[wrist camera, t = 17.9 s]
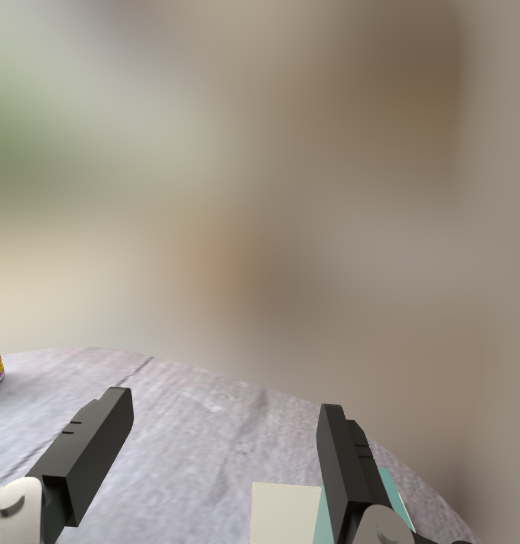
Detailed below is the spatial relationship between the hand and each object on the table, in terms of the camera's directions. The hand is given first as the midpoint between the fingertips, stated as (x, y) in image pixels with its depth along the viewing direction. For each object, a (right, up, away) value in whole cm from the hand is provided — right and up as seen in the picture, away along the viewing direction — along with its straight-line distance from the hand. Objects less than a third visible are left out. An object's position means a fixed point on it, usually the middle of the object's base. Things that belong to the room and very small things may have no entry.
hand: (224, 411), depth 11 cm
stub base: (+9, -25, +14) cm, 30 cm away
